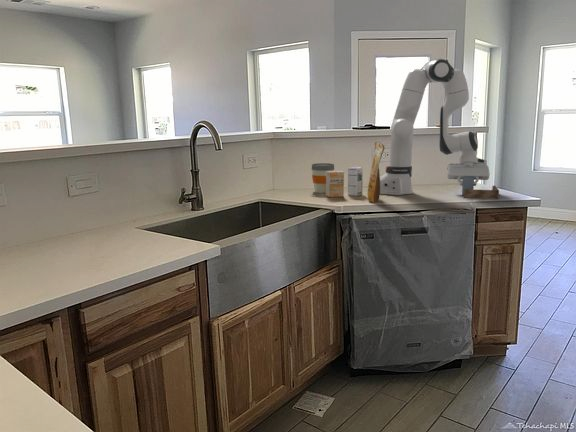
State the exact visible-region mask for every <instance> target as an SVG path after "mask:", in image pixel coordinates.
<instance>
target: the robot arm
mask: <svg viewBox="0 0 576 432" xmlns="http://www.w3.org/2000/svg"><path fill="white" fill-rule="evenodd" d="M429 83H440V84H441V85H442V86H443V88H444V94H445V95H444V96H445V100H444V103H443V104H442V105H441V107H440V111H439V112H440V113H439V115H440V116H439V140H438V141H439V142H438V147H439V151H440V152H441V153H442V154H444V155H451V154H456V153H459V163H449V164H447V165H446V169H447V179H449V180H457V182H458V183H459V186H462V185H463V177H474V186H475V187H477V185H478V184H477V183H478V182H479V181H487V180H489V179H490V173H491V172H490V169H489V165H488V164H487V160H486V159H483V158H481V157H480V158H479V157H478V156H477V155H478V148H479V142H478V137H477V135H476V134H475V133H474V132H472V131H463V132H460V133H453V134H449V119H450V117H451V116H452V115H453V114H454V113H456V112H458V111H459V110H461V109H462V108H464V107H465V106H466V105H467V103H468V101H469V99H470V93H469V87H468V81H467V79H466V76H465V72H464V71H463V70H462V69H460V68H454V67H453V66H452V65H451V63H450V62H449V61H447V60H446V59H443V58H435V59H431V60H430V61H428V62H426V63H425V64H424V65H423V67H422V68H414V69H411V70H410V71H409V73H407V76H406V78H405V80H404V83H403V86H402V89H401V92H400V96H399V100H398V102H397V103H398V104H397V105H396V109H395V112H394V115H393V119H392V123H391V125H390V134H391V135H390V147H389V148H390V151H389V153H390V154H389V165H387V166H385V173H384V174H383V175H381V176H380V195H391V196H403V195H409V194H413V193H414V190H413V185H412V175H413V166H412V159H413V158H412V157H413V156H412V154H413V153H412V151H413V141H414V130H415V129H414V125H415V121H416V119H417V116H418V113H419V111H420V108H421V105H422V101H423V98H424V95H425V90H426V87H427V86H428V85H429ZM474 186H473V187H474Z"/></svg>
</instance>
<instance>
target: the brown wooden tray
mask: <svg viewBox="0 0 576 432" xmlns="http://www.w3.org/2000/svg"><path fill="white" fill-rule="evenodd" d="M491 188H492V189H474V188H473V189H465V191H464V196H463V198H465V199H466V198H470V199H490V198H495V199H494V200H496V199H497V200H499V197H500V196H499V195H500V190H499V188H498V187H497V186H496V185H492V187H491Z"/></svg>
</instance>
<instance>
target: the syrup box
mask: <svg viewBox="0 0 576 432" xmlns="http://www.w3.org/2000/svg"><path fill="white" fill-rule="evenodd" d="M347 195H348V196H355V197H357V196H361V195H363V167H362V166H352V167H351V166H350V167H347Z"/></svg>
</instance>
